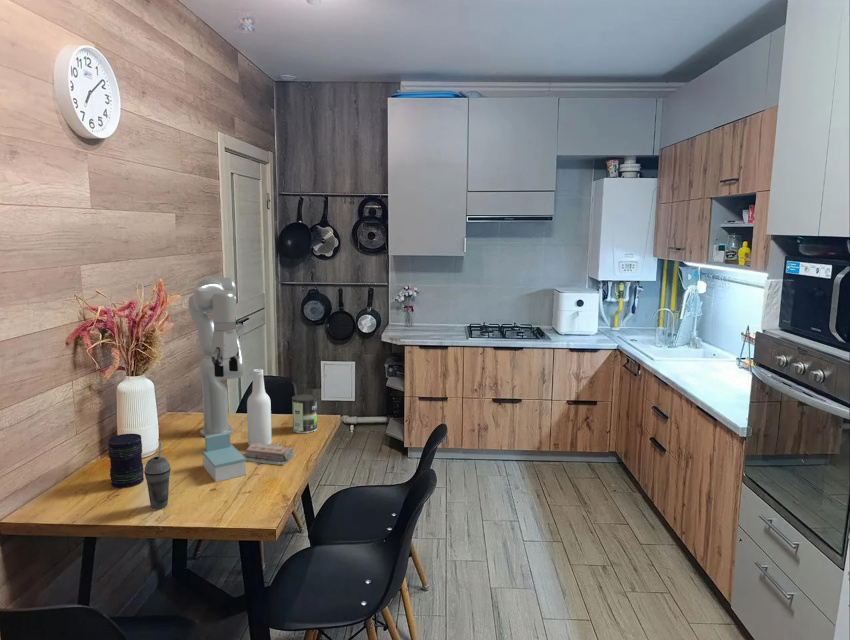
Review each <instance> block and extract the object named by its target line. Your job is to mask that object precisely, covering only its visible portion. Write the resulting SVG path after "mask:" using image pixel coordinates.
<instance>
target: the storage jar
mask: <svg viewBox="0 0 850 640" xmlns="http://www.w3.org/2000/svg"><path fill="white" fill-rule="evenodd" d="M142 442H143V441H142V435H141V434H138V433H122V434H117V435H115V436H112V437H110V438H109V439H108V441H107V443H108V446H107V447H108V448H107V449H108V450H107V451H108V457H109V462H110V468H109V471H110V472H109V478H110V485H111V487H112V488H114V489H129V488H132V487H136V486H138V485H141V484H142V483H143V482H144V471H145V468H144V463H143V459H142V458H143V457H142V453H143V443H142Z"/></svg>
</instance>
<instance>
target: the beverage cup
mask: <svg viewBox="0 0 850 640" xmlns="http://www.w3.org/2000/svg"><path fill="white" fill-rule="evenodd" d="M158 445H159V447H158V456H154V457H151V458H150V459H149V460H147V462H146V464H145V467H144V473H143V475H144V476H145V479H146V485H147V491H148V497H149V503H150V509H151V508H152V509H151V510H153V509H155V510H154V511H157V510H156V509H161V510H163V509H162V508H164V509H166V508H167V507H168V506H167V505H169V504H168V503H169V489H170V488H169V487H170V475H171V469H172V468H171V466H170V465H171V464H170V463H169V461H168V459H166V457H163V456H161V452H162V442H159V444H158ZM166 506H167V507H166ZM165 507H166V508H165Z"/></svg>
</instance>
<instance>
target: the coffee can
mask: <svg viewBox="0 0 850 640" xmlns="http://www.w3.org/2000/svg"><path fill="white" fill-rule="evenodd" d="M317 399H318V396H317V395H316V394H312V393H302V394H296V395H293V396H292V397H291V402H292V432H294V433H297V434H310V432H311V433H314V432H316V431H317V430H318V400H317ZM313 431H314V432H313Z"/></svg>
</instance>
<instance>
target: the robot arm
mask: <svg viewBox="0 0 850 640" xmlns="http://www.w3.org/2000/svg"><path fill="white" fill-rule="evenodd" d="M197 285H198V286H197V287H195V289H194V291H193V294H192V295H191V296H189V298H188V301H187V305H188V311H189V314H190V316H191V320H192V321H193V323H194V324H195V326H196V330H197V335H198V341H199V342H198V343H199V349H200V353H201V355H202V356H204V357H206V358H203V359H202V360H201V361H200V362H199V365H198V369H199V370H198V371H199V375H200V380H201V388H202V406H203V407H202V411H203V427H202V428H201V429H200V430H199V434H200V436H202V437H205V436H210V435H215V434H221V433H226V432H228V433H230V434H231V433H232V432H233V426H231V425H230V424H229V403H228V402H229V401H228V399H229V398H228V397H229V396H228V389H227V387H226V386H225V384H223V382H221V381H224V380H232V379H239V378H242V377H244V375H245V373H246V372H245V371H246V367H245V361H244V355H243V349H242V344H241V339H240V337H239V335H237V333H236V331H237V326H236V325H237V324H236V322H237V321H236V306H237V305H236V304H237V297H236V295H237V285H236V282H235V281H234V279H232V278H231V277H206V278H203V279H202V280H200V281H199V283H198V284H197ZM208 314H209V315H208ZM210 314H212V316H210Z"/></svg>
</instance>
